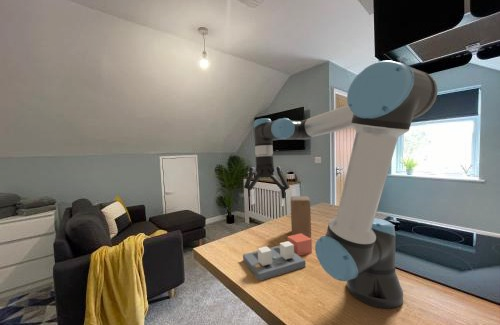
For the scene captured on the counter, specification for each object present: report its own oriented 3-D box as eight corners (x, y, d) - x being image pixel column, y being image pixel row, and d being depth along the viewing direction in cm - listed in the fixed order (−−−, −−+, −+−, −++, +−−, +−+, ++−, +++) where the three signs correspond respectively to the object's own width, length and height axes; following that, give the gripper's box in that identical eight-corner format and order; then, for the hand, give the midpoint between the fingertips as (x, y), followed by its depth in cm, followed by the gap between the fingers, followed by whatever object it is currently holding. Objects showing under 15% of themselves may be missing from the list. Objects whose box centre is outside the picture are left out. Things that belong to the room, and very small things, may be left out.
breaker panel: (305, 266, 81) (305, 259, 81) (259, 281, 73) (258, 273, 73) (283, 249, 96) (283, 243, 96) (243, 260, 88) (242, 253, 88)
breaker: (294, 257, 82) (293, 244, 82) (285, 259, 81) (285, 247, 81) (288, 252, 86) (288, 241, 86) (280, 255, 85) (279, 243, 84)
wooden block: (311, 238, 107) (310, 200, 106) (291, 237, 109) (290, 200, 108) (310, 231, 117) (308, 195, 116) (291, 230, 119) (290, 196, 118)
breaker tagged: (272, 263, 79) (271, 250, 78) (262, 266, 77) (262, 252, 77) (267, 258, 82) (266, 246, 82) (258, 261, 81) (257, 248, 81)
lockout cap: (311, 252, 92) (311, 239, 92) (297, 256, 89) (297, 242, 89) (301, 245, 99) (301, 233, 99) (287, 249, 96) (287, 236, 96)
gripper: (295, 154, 86) (297, 204, 87) (243, 156, 98) (245, 201, 98) (290, 154, 80) (293, 209, 80) (234, 157, 91) (237, 205, 92)
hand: (266, 205), depth 89 cm, fingers open, 13 cm apart
